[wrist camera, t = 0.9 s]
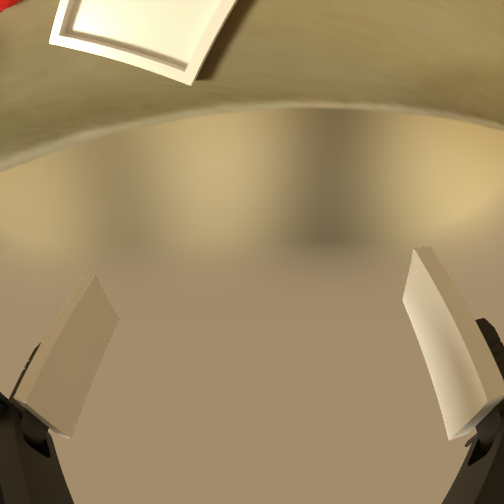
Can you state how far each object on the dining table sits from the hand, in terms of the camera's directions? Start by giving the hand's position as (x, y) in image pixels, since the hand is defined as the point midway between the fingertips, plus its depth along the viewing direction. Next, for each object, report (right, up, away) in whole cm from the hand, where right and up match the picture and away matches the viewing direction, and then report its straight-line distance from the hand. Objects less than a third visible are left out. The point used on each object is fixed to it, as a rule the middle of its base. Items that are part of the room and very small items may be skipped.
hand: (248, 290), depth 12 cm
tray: (-10, +27, +8) cm, 30 cm away
